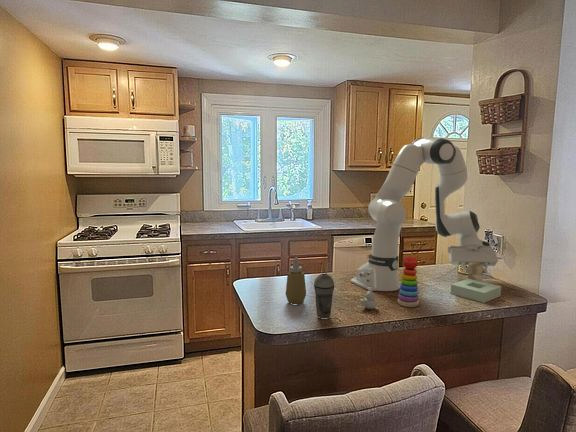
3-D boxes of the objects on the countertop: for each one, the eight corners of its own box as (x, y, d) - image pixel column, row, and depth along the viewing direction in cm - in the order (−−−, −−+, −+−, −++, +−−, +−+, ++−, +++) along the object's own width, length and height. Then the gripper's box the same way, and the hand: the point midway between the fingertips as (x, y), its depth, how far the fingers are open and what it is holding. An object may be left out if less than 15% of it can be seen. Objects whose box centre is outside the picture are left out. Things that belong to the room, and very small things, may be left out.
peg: (467, 284, 177) (468, 263, 176) (472, 282, 180) (473, 261, 178) (477, 287, 173) (478, 265, 172) (482, 285, 176) (483, 263, 175)
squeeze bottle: (291, 308, 147) (291, 261, 145) (281, 301, 154) (281, 256, 152) (310, 304, 151) (310, 258, 148) (299, 298, 158) (300, 254, 156)
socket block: (450, 293, 164) (451, 284, 164) (467, 287, 173) (468, 278, 172) (483, 302, 153) (484, 293, 153) (500, 295, 162) (501, 286, 161)
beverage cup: (314, 312, 143) (314, 258, 140) (334, 313, 142) (335, 259, 139) (312, 320, 135) (313, 263, 133) (333, 321, 134) (334, 264, 132)
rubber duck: (379, 310, 145) (380, 289, 144) (363, 312, 143) (363, 291, 142) (373, 305, 150) (374, 285, 149) (357, 306, 149) (357, 286, 148)
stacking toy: (420, 308, 147) (422, 259, 145) (398, 307, 149) (400, 258, 146) (417, 301, 155) (419, 255, 152) (396, 300, 156) (398, 254, 154)
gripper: (448, 242, 182) (453, 268, 174) (495, 243, 180) (502, 269, 171) (445, 249, 187) (450, 275, 179) (490, 250, 185) (497, 276, 176)
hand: (476, 272), depth 175 cm, fingers closed on peg, 6 cm apart
